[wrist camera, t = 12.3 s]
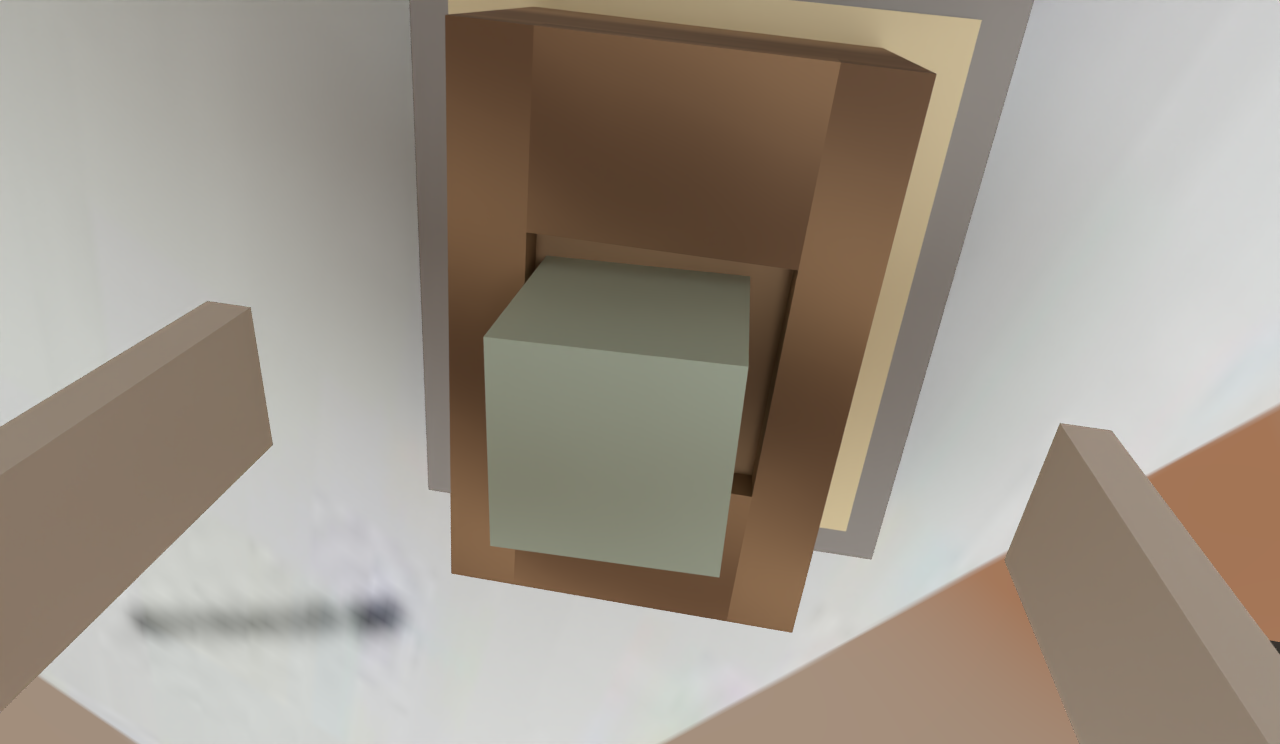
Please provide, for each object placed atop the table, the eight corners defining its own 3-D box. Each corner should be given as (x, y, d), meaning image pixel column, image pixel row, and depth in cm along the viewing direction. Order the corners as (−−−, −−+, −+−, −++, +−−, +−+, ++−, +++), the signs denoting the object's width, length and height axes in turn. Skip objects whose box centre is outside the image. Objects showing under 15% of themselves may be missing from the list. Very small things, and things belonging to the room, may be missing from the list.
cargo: (546, 255, 15) (483, 336, 12) (750, 276, 15) (747, 367, 11) (545, 430, 17) (490, 545, 14) (727, 452, 17) (719, 577, 13)
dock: (451, -80, 20) (402, -91, 17) (1001, -25, 19) (1044, -28, 16) (460, 440, 28) (427, 492, 25) (859, 501, 26) (872, 562, 24)
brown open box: (534, 6, 18) (444, 14, 13) (883, 47, 17) (936, 74, 12) (518, 444, 23) (451, 573, 18) (784, 487, 23) (792, 632, 18)
